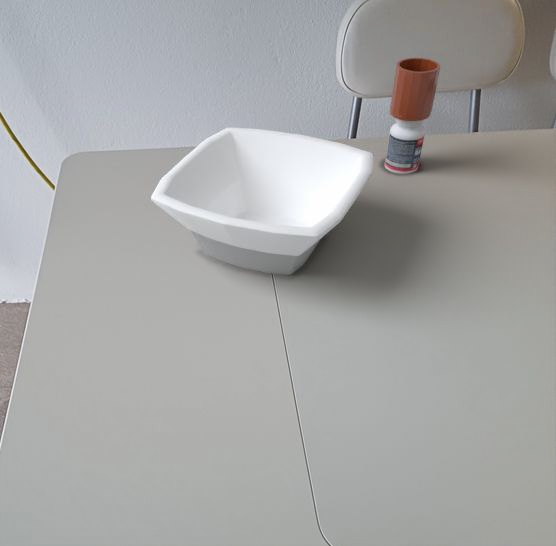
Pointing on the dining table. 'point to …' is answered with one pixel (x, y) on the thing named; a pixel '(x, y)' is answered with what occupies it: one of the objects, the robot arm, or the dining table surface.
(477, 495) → the dining table surface
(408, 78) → the cup
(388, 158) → the pill bottle
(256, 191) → the bowl
